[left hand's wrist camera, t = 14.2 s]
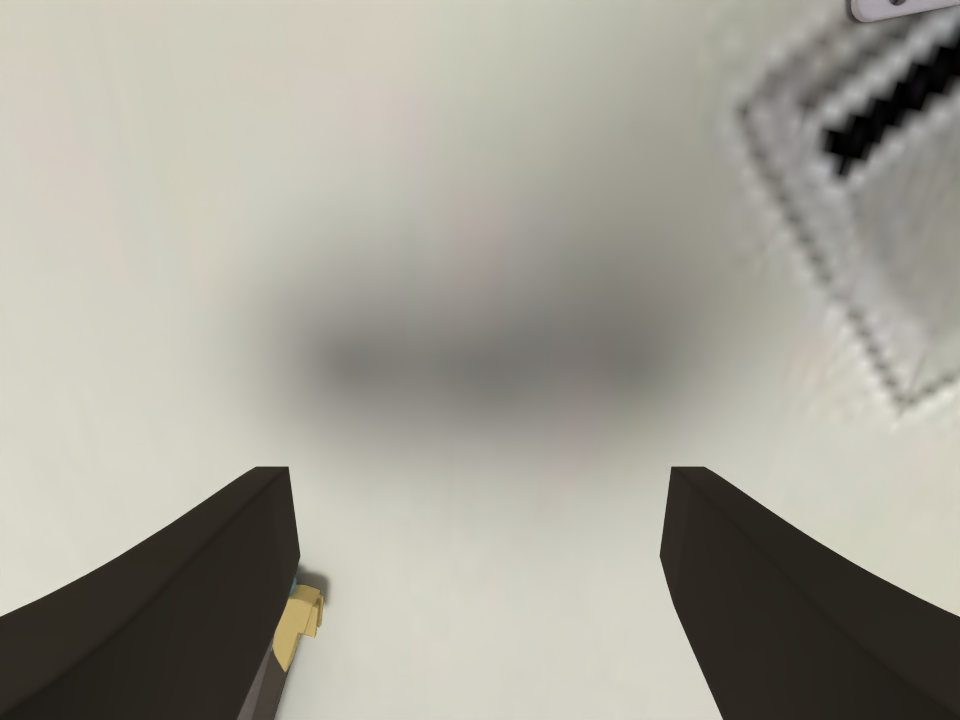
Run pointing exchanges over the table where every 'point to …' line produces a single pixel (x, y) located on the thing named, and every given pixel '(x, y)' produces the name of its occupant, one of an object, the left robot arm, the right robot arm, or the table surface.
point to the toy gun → (283, 652)
